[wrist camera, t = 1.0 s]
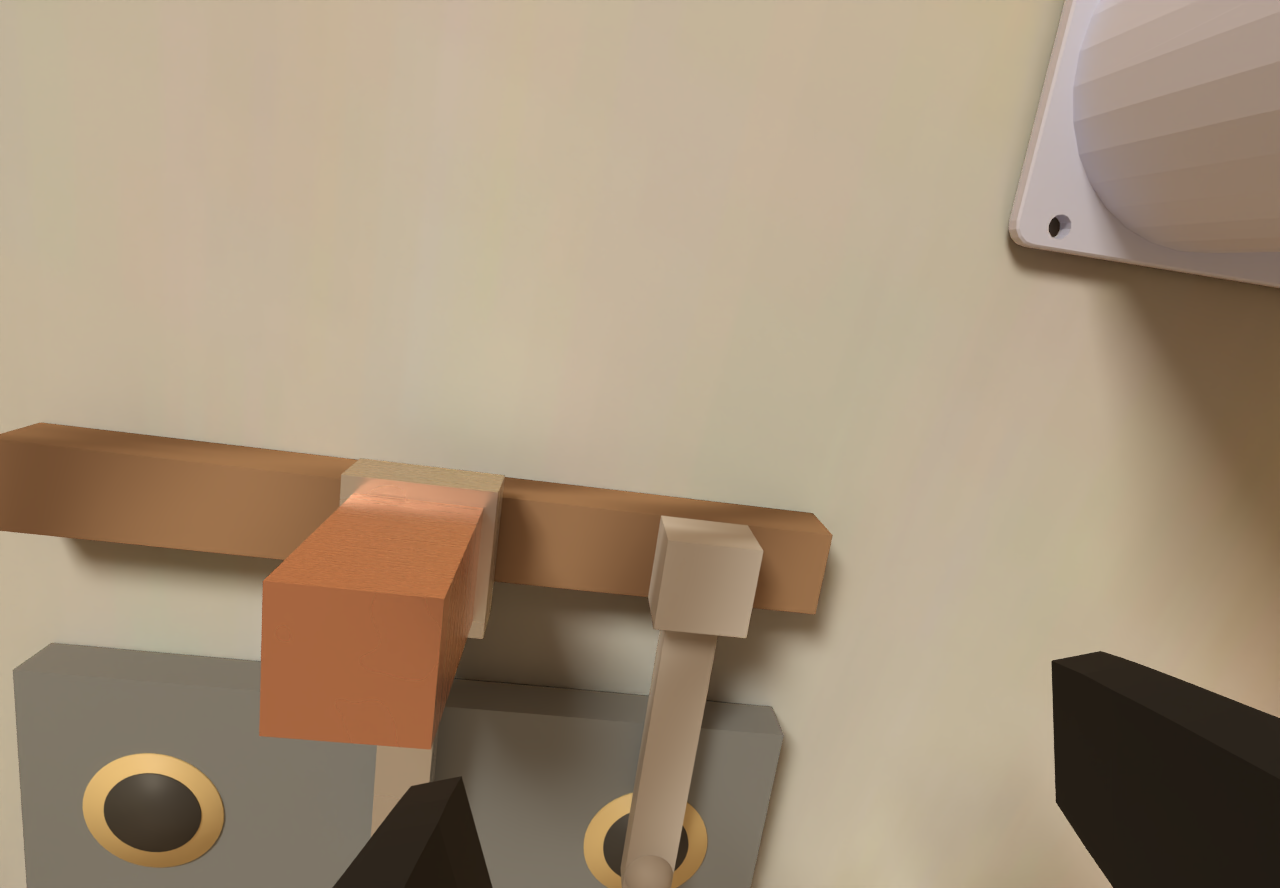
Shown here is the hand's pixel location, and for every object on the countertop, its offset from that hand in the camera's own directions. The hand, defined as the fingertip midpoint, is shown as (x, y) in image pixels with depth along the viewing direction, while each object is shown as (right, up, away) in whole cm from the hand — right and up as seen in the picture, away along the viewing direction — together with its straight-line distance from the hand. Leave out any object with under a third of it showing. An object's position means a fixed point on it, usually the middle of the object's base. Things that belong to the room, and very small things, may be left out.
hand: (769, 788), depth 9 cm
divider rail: (-7, -1, +10) cm, 12 cm away
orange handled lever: (-7, -1, +8) cm, 10 cm away
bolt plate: (-7, -5, +10) cm, 14 cm away
